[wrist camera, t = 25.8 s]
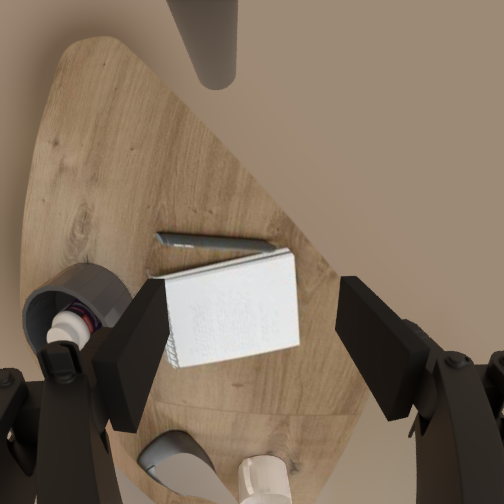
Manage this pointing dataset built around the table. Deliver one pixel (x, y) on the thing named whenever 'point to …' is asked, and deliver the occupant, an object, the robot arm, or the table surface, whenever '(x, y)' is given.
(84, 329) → the pill bottle
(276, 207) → the table surface
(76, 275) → the canister
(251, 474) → the mug
